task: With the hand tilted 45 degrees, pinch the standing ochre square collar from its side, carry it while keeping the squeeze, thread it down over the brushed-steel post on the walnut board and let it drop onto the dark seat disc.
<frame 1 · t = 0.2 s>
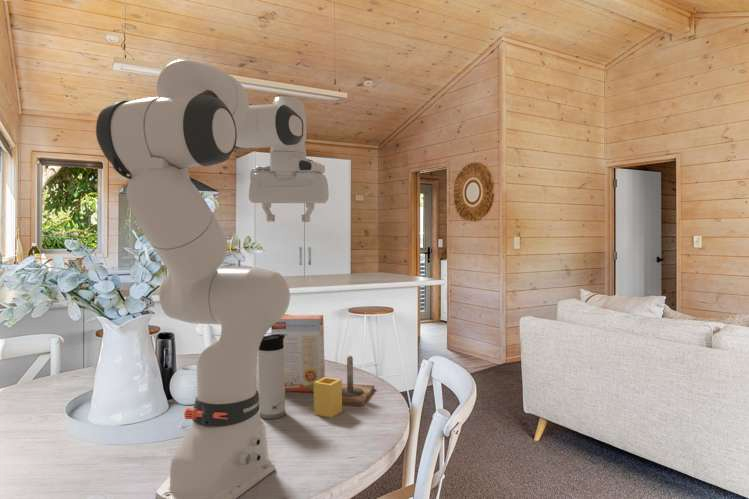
hand: (288, 221, 130), 48 cm above the table, tool pointing down, fingers open, 8 cm apart
post board: (350, 395, 142), on the table
cracker box: (299, 389, 149), on the table
travel mug: (273, 415, 129), on the table
collar: (328, 412, 130), on the table
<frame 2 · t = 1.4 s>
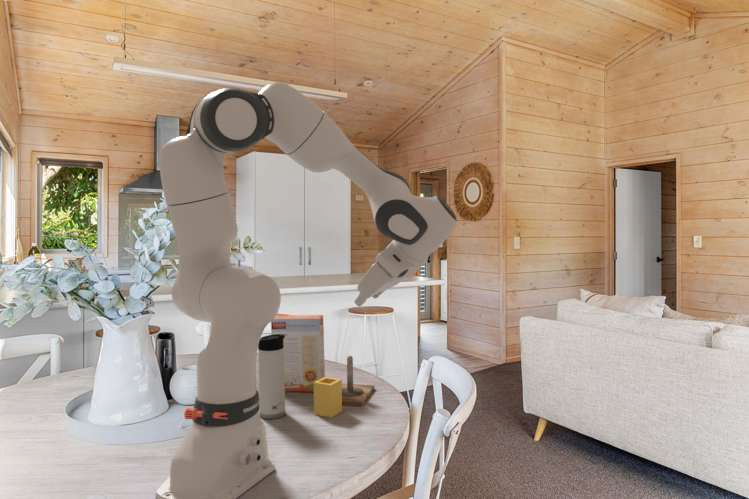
hand: (365, 300, 124), 29 cm above the table, tool tilted 45°, fingers open, 8 cm apart
nothing on the table moved.
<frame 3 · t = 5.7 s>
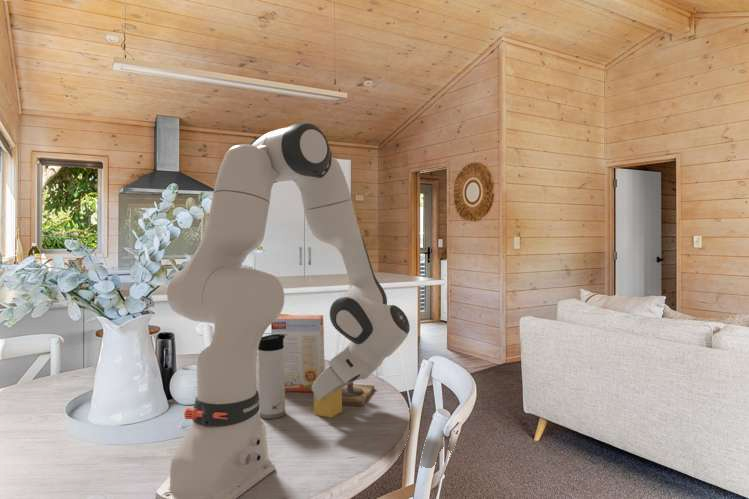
hand: (325, 394, 130), 5 cm above the table, tool tilted 45°, fingers closed on collar, 5 cm apart
collar: (328, 412, 130), on the table, touching gripper
everything else where it was.
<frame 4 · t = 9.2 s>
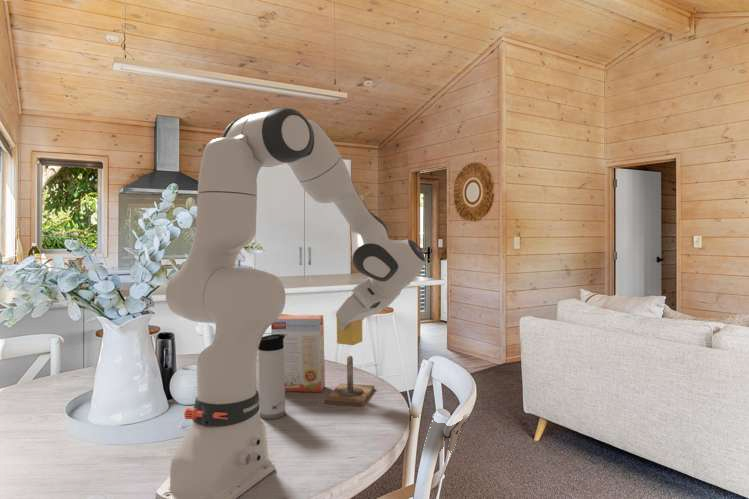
hand: (347, 325, 142), 19 cm above the table, tool tilted 45°, fingers closed on collar, 5 cm apart
collar: (349, 342, 141), point 15 cm above the table, touching gripper
everything else where it was.
when the fingers open (7 cm above the table, at t = 12.6 s): collar stays where it is, resting on post board.
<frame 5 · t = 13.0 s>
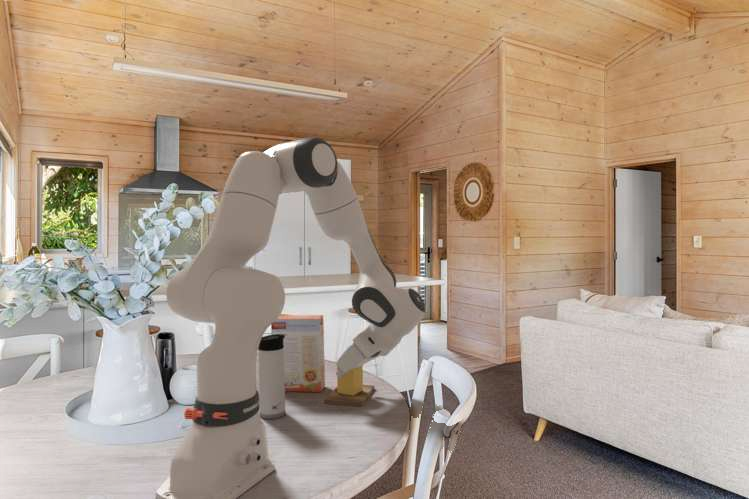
hand: (347, 370, 142), 7 cm above the table, tool tilted 45°, fingers open, 8 cm apart
collar: (350, 391, 142), point 1 cm above the table, touching post board
everything else where it was.
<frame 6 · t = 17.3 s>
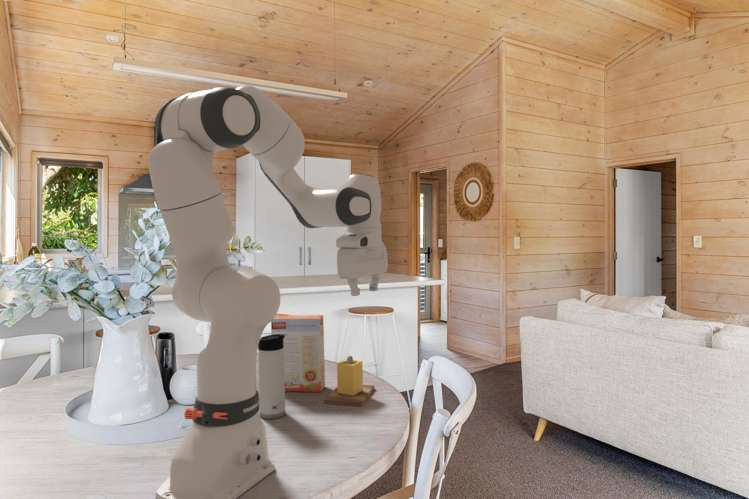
hand: (364, 293, 134), 29 cm above the table, tool pointing down, fingers open, 8 cm apart
nothing on the table moved.
at the end: collar 0.1 cm off-centre on the post board, point 1.3 cm above the post board's base; collar tilted 0°; the gripper is holding nothing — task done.
